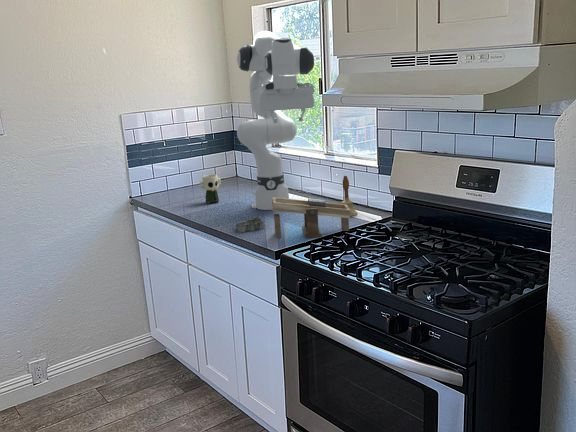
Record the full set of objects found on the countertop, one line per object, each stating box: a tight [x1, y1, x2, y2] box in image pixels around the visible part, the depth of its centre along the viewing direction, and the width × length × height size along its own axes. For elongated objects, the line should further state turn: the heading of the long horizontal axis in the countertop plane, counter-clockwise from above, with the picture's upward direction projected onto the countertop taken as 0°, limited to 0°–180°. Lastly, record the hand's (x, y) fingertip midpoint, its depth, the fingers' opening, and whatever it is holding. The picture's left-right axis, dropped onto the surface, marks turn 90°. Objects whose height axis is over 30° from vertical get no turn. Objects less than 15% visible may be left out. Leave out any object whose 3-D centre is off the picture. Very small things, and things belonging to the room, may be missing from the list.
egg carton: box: [234, 215, 265, 233], centre depth 228 cm, size 11×8×4 cm
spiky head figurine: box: [199, 174, 222, 203], centre depth 277 cm, size 11×7×13 cm, turn 126°
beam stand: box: [273, 208, 350, 239], centre depth 216 cm, size 14×27×10 cm, turn 93°
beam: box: [272, 197, 351, 219], centre depth 215 cm, size 9×28×3 cm, turn 93°
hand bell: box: [340, 175, 359, 217], centre depth 238 cm, size 8×8×16 cm
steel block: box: [307, 197, 327, 207], centre depth 214 cm, size 5×6×4 cm
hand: (288, 122), depth 217 cm, fingers open, 8 cm apart
